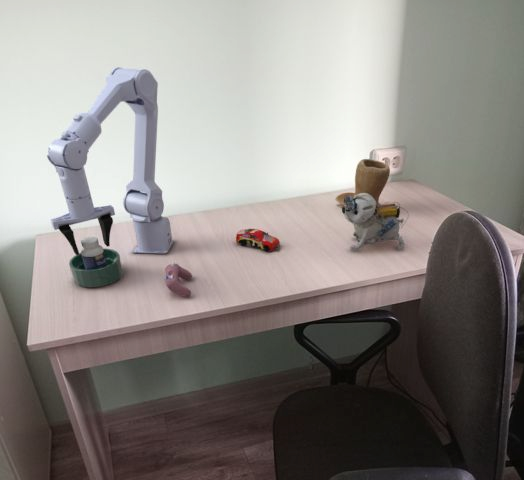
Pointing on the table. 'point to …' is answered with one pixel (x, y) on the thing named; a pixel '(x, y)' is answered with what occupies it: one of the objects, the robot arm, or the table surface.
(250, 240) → the race car
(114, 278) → the bowl
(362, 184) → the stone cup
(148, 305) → the table surface
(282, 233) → the table surface
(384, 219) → the robotic toy
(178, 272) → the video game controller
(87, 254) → the pill bottle
